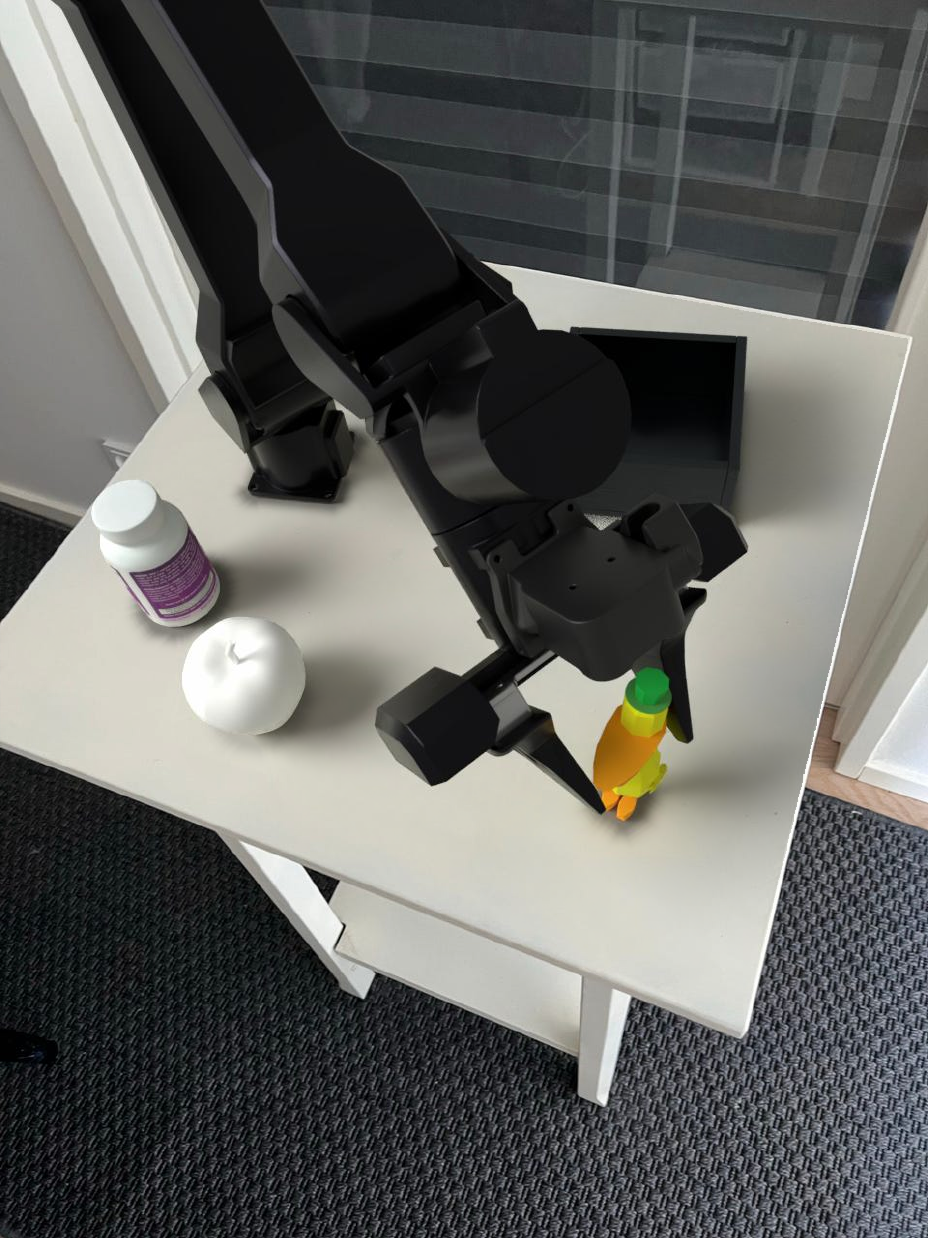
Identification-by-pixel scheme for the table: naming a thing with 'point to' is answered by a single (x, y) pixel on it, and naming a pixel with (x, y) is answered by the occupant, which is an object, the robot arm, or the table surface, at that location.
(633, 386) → the open black box
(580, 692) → the table surface
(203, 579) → the pill bottle
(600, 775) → the toy figure
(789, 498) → the table surface
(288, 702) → the plain white apple
